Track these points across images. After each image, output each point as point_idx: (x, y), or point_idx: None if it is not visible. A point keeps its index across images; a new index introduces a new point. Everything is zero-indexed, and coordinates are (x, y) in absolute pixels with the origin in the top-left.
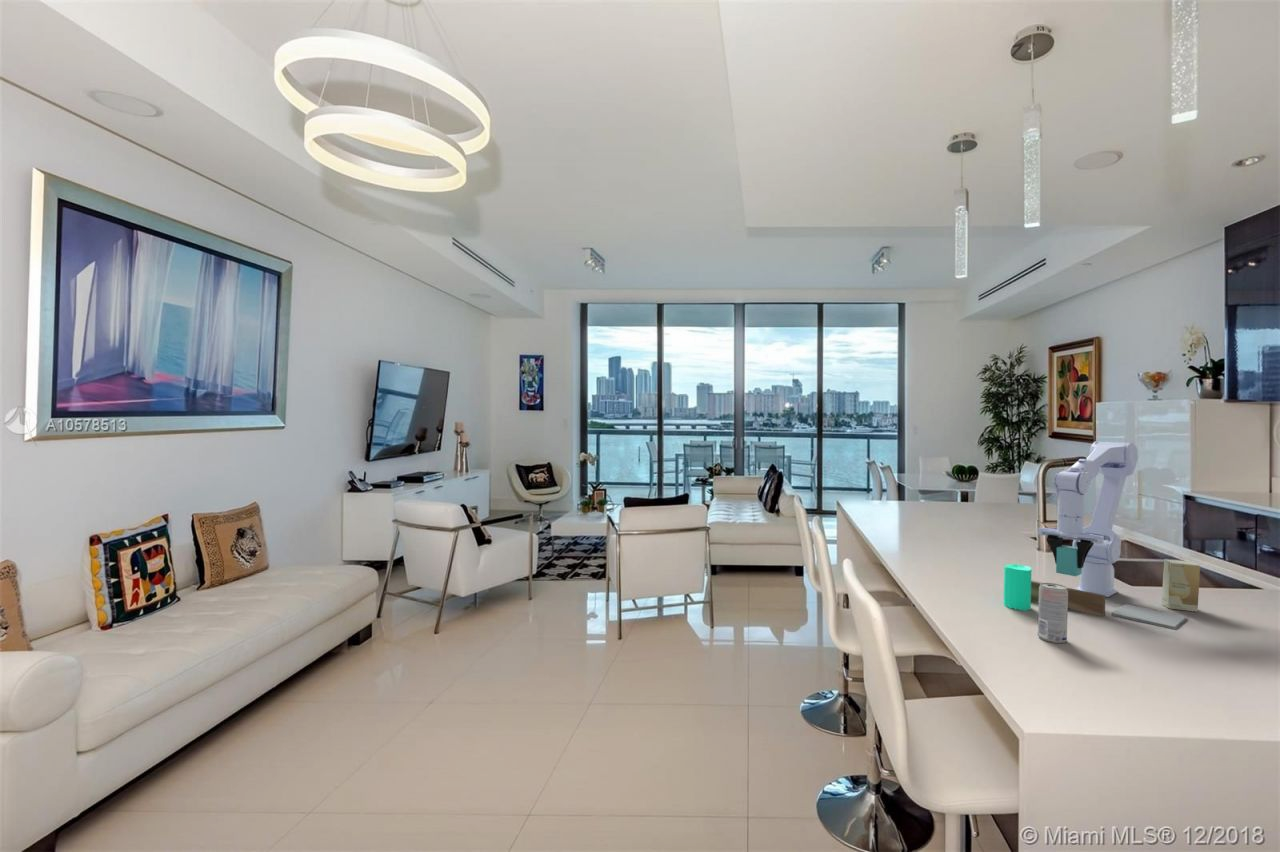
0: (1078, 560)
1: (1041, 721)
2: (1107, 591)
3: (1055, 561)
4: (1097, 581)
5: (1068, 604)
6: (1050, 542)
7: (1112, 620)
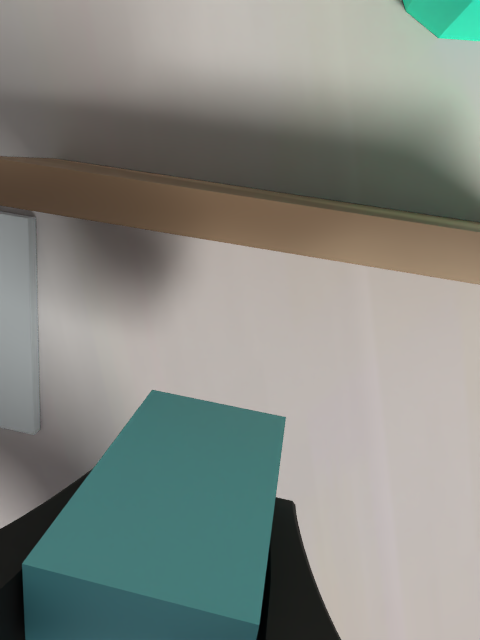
0: None
1: None
2: None
3: (292, 513)
4: None
5: (205, 182)
6: None
7: (7, 113)
